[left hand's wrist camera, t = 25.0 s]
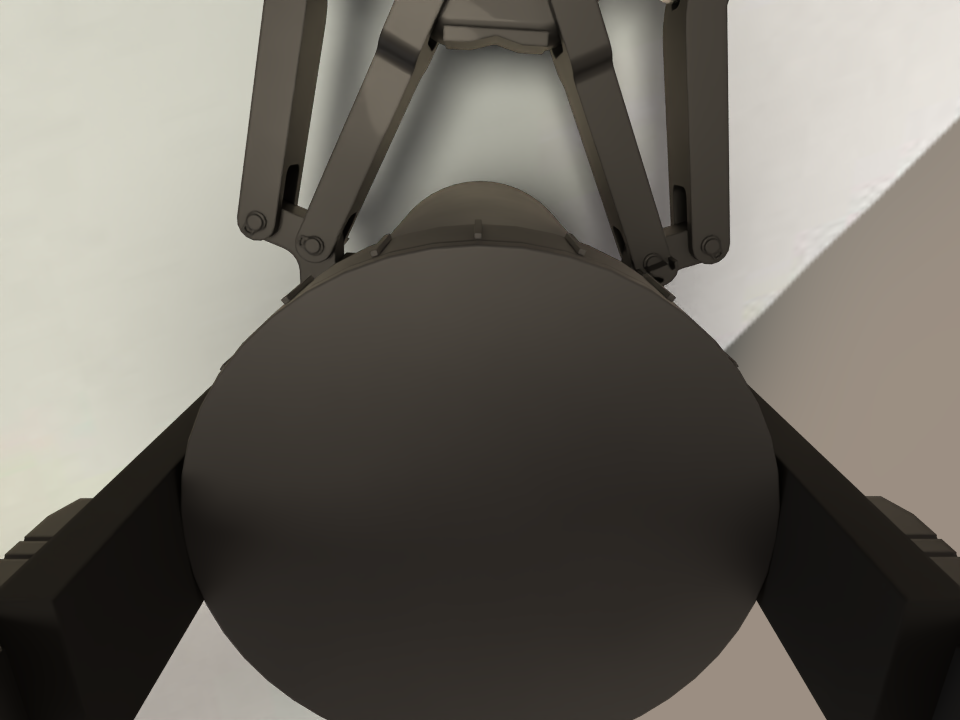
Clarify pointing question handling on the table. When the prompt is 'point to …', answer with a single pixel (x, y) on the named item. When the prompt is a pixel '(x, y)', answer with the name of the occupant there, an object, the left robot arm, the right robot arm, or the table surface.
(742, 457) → the lid
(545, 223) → the jar
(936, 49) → the table surface
